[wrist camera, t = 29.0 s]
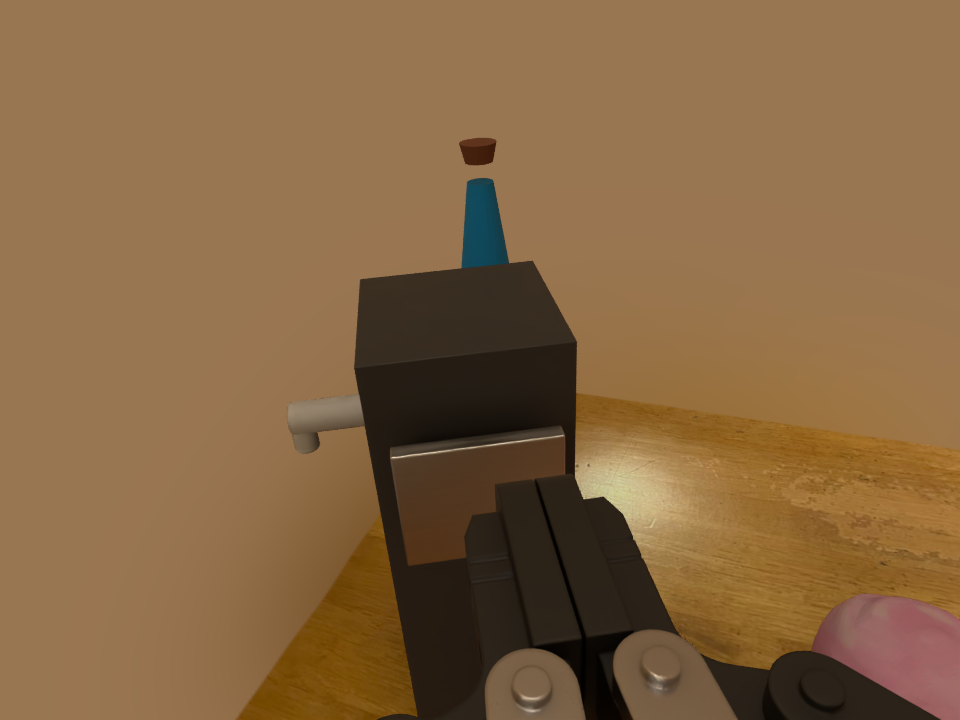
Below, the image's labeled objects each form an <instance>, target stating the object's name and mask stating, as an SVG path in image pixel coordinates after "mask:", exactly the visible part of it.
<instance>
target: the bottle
mask: <svg viewBox="0 0 960 720" xmlns="http://www.w3.org/2000/svg"><path fill="white" fill-rule="evenodd" d="M459 145H460V148H461V151H462V154H463V158H464V161H465V163H466V164H468V165H485V164H489V163H491V162H493V158H494V152H495V146H496V140H494V139H491V138H474V139H467V140H464V141H461V142H460V143H459ZM508 263H509V261H508V255H507V250H506V245H505V240H504V234H503V229H502V224H501V219H500V213H499V208H498V203H497V198H496V192H495V187H494V183H493V180H492V179H488V178H478V179H473V180H470V181H468V182H467V192H466V207H465V223H464V237H463V253H462V268H471V267H480V266H489V265H499V264H508Z"/></svg>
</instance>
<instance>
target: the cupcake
mask: <svg viewBox="0 0 960 720" xmlns="http://www.w3.org/2000/svg"><path fill="white" fill-rule="evenodd" d="M811 652H816V653H820V654H824V655H826V656H829V657H831V658H833V659H835V660H837V661H839V662H841V663H843V664H845V665H846V666H848V667H850V668H852V669H853V670H855V671H857V672H859V673H860V674H862V675H864V676H866V677H867V678H869V679H871V680H873V681H874V682H876V683H878V684H880V685H881V686H883V687H885V688H887V689H888V690H890V691H892V692H894V693H895V694H897V695H899V696H901V697H902V698H904V699H906V700H908V701H909V702H911V703H913V704H915V705H916V706H918V707H920V708H922V709H923V710H925V711H927V712H929V713H931V714H932V715H934V716H936V717H938V718H939V719H941V720H960V619H958V618H957V617H956V616H954V615H952V614H950V613H949V612H947V611H945V610H943V609H940V608H938V607H935V606H932V605H930V604H927V603H924V602H921V601H918V600H914V599H910V598H903V597H895V596H883V595H877V594H859V595H857V596H854V597H852V598H850V599H849V600H847V601H845V602H843V603H841V604H839V605H838V606H836V607H835V608H833V609H832V610H831V611H830V613H829V614H828V615H827V616H826V618H825V619H824V621H823V622H822V624H821V625H820V627H819V630H818V632H817V634H816V636H815V639H814V642H813V646H812V650H811Z"/></svg>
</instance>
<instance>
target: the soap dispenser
mask: <svg viewBox="0 0 960 720" xmlns="http://www.w3.org/2000/svg"><path fill="white" fill-rule="evenodd" d="M576 355H577V341H576V339H575V337H574V336H573V334H572V332H571V330H570V328H569V326H568V325H567V323H566V321H565V319H564V317H563V315H562V314H561V312H560V310H559V308H558V306H557V304H556V303H555V301H554V299H553V297H552V295H551V294H550V292H549V290H548V288H547V286H546V284H545V282H544V281H543V279H542V277H541V275H540V273H539V271H538V270H537V268H536V266H535V264H534V262H533V261H527V262H517V263H508V264H499V265H489V266H480V267H471V268H461V269H452V270H443V271H433V272H425V273H415V274H406V275H396V276H388V277H378V278H369V279H361V280H360V289H359V304H358V320H357V334H356V349H355V364H354V369H355V375H356V380H357V386H358V391H359V394H354V395H346V396H337V397H330V398H321V399H313V400H304V401H296V402H290V403H289V404H288V406H287V421H288V426H289V430H290V432H291V434H292V437H293V441H294V445H295V449H296V450H297V452H299V453H302V454H308V453H311V452H314V451H315V450H317V449H318V447H319V445H320V442H319V438H318V433H317V432H322V431H329V430H337V429H345V428H353V427H360V426H365V429H366V435H367V440H368V446H369V451H370V457H371V462H372V468H373V473H374V479H375V484H376V489H377V495H378V501H379V506H380V511H381V517H382V522H383V528H384V533H385V539H386V544H387V550H388V555H389V561H390V566H391V572H392V577H393V583H394V588H395V594H396V599H397V604H398V610H399V615H400V621H401V626H402V632H403V637H404V643H405V648H406V654H407V659H408V665H409V670H410V676H411V681H412V687H413V692H414V697H415V703H416V708H417V714H418V718H420V719H422V720H433V719H435V718H437V717H439V716H440V715H442V714H444V713H446V712H448V711H450V710H452V709H453V708H455V707H456V706H458V705H459V704H460V703H462V702H463V701H464V700H465V699H466V698H467V697H468V696H469V695H470V694H471V692H472V691H473V689H474V688H475V686H476V684H477V682H478V680H479V678H480V674H481V666H480V659H479V652H478V645H477V638H476V632H475V625H474V617H473V611H472V604H471V597H470V590H469V580H468V570H467V560H466V558H461V559H454V560H447V561H440V562H433V563H426V564H419V565H412V566H408V564H407V558H406V552H405V546H404V540H403V534H402V528H401V522H400V516H399V510H398V503H397V497H396V491H395V485H394V479H393V473H392V467H391V461H390V448H391V447H395V446H402V445H410V444H418V443H426V442H434V441H441V440H449V439H457V438H465V437H473V436H480V435H488V434H496V433H504V432H511V431H519V430H527V429H535V428H543V427H550V426H558V425H560V426H561V427H562V430H563V432H564V435H565V474H573V476H574V477H575V428H576V358H577V356H576Z"/></svg>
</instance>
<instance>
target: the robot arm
mask: <svg viewBox="0 0 960 720" xmlns="http://www.w3.org/2000/svg"><path fill="white" fill-rule="evenodd" d="M495 501H496V512H492V513H484V514H477V515H472V517H471V520H470V522H469V525H468V528H467V531H466V533H465V536H464V540H465V550H466V560H467V570H468V580H469V590H470V597H471V604H472V611H473V617H474V625H475V632H476V638H477V645H478V652H479V659H480V666H481V674H480V678H479V680H478V682H477V684H476V686H475V688H474V689H473V691H472V692H471V694H470V695H469V696H468V697H467V698H466V699H465V700H464V701H463V702H462V703H460V704H459V705H458V706H456V707H455V708H453V709H452V710H450V711H448V712H446V713H444V714H442V715H440V716H439V717H437V718H435V719H433V720H941V719H939V718H938V717H936V716H934V715H932V714H931V713H929V712H927V711H925V710H923V709H922V708H920V707H918V706H916V705H915V704H913V703H911V702H909V701H908V700H906V699H904V698H902V697H901V696H899V695H897V694H895V693H894V692H892V691H890V690H888V689H887V688H885V687H883V686H881V685H880V684H878V683H876V682H874V681H873V680H871V679H869V678H867V677H866V676H864V675H862V674H860V673H859V672H857V671H855V670H853V669H852V668H850V667H848V666H846V665H845V664H843V663H841V662H839V661H837V660H835V659H833V658H831V657H829V656H826V655H824V654H820V653H816V652H811V651H795V652H790V653H787V654H785V655H782V656H781V657H780V658H778V659H777V660H776V661H775V662H774V663H773V665H772V667H771V669H770V670H765V669H758V668H751V667H745V666H738V665H731V664H727V663H722V662H719V661H716V660H713V659H711V658H708V657H706V656H704V655H702V654H701V653H699V652H698V651H697V650H696V649H695V647H694V646H693V645H691V644H690V643H689V642H688V641H686V640H685V639H683V638H682V637H681V636H680V635H679V633H678V632H677V631H676V629H675V627H674V625H673V623H672V621H671V619H670V617H669V614H668V612H667V610H666V608H665V606H664V603H663V601H662V599H661V597H660V595H659V592H658V590H657V588H656V586H655V584H654V581H653V579H652V577H651V575H650V573H649V571H648V568H647V566H646V564H645V562H644V560H643V559H642V558H641V553H640V551H639V549H638V546H637V544H636V542H635V540H633V535H632V533H631V531H630V529H629V527H628V524H627V522H626V520H625V518H624V516H623V514H622V513H621V512H620V511H619V510H618V509H616V508H615V507H614V506H613V505H612V504H611V503H610V502H609V501H608V500H607V499H605V498H604V497H599V498H591V499H584V500H583V497H582V495H581V492H580V490H579V487H578V485H577V482H576V480H575V477H574V476H573V474H565V475H557V476H550V477H542V478H535V479H534V481H533V480H532V479H529V480H522V481H514V482H507V483H499V484H495ZM377 720H422V719H420V718H418V717H416V716H412V715H408V714H394V715H388V716H385V717H382V718H380V719H377Z"/></svg>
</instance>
